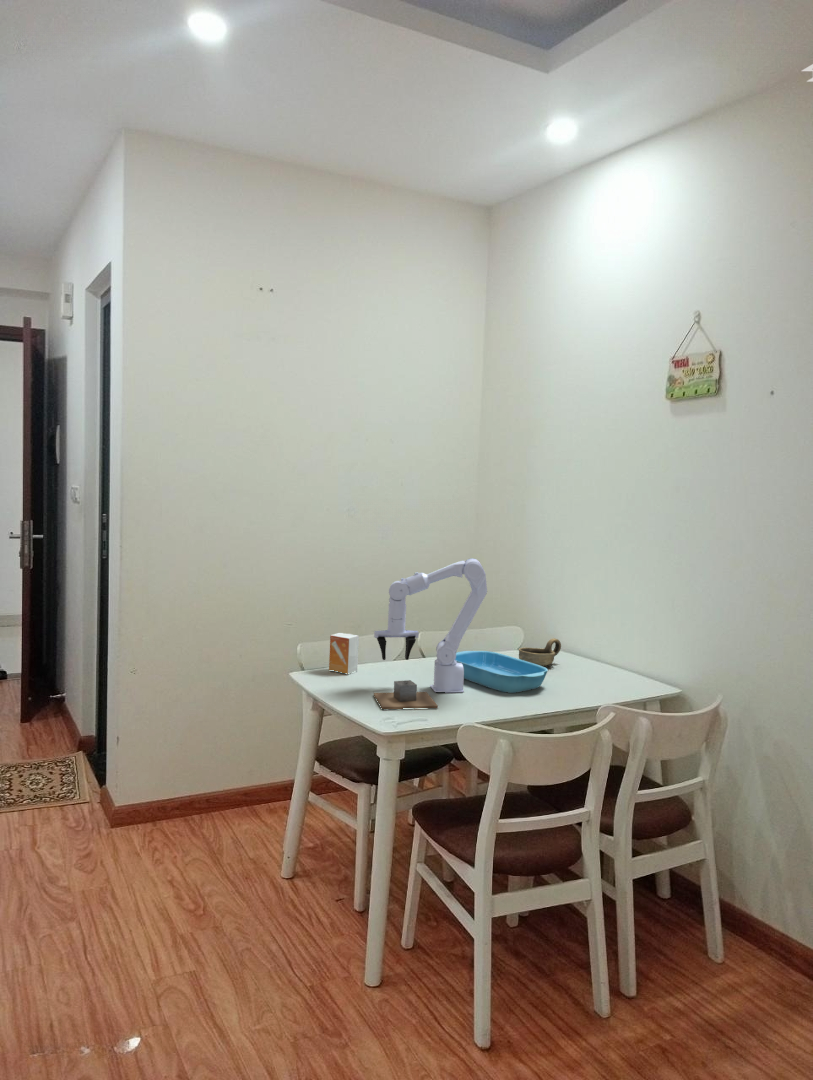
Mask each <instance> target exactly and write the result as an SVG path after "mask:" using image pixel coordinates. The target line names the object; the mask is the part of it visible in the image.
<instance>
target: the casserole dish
mask: <svg viewBox="0 0 813 1080" xmlns="http://www.w3.org/2000/svg"><path fill="white" fill-rule="evenodd" d="M455 660H456V661H457V663H462V665H463V668H464V680H466V681H469V682H472V683H475V684H478V685H481V686H483V687H485V688H489V689H492V690H495V691H498V692H502V693H506V692H508V694H514V693H516V692H517V693H520V692H521V693H522V691H523V692H526V691H531V689H532V690H536V689H538V688H539V687H540V686H541V685H542V684H543V682H544V680H545V678H546V676H547V673H548V671H549V670H548V668H547V667H546V666H540V665H537V664H534V663H530V662H527V661H524V660H520V659H519V658H517V657H513V656H510V655H506V654H503V653H500V652H495V651H490V650H489V651H488V650H463V651H456V659H455Z"/></svg>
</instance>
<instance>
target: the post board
mask: <svg viewBox="0 0 813 1080" xmlns="http://www.w3.org/2000/svg"><path fill="white" fill-rule="evenodd" d="M374 696H375V697H374ZM373 697H374V699H375V698H376V699H377V701H378V702H377V701H376V702H377V704H378V703H379V704H380V706H381V707H380V706H379V707H380V709H381V708H382V709H403V708H439V705H438V704H437V702H435V700H434V699H433V698H432V697H431V696H430V694H429V693H428V692H427V691H417V695H416V701H406V702H399V701H398V700H397V699H395V698H394V691H393V692H373ZM376 699H375V700H376ZM379 704H378V705H379ZM382 709H381V710H382Z"/></svg>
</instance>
